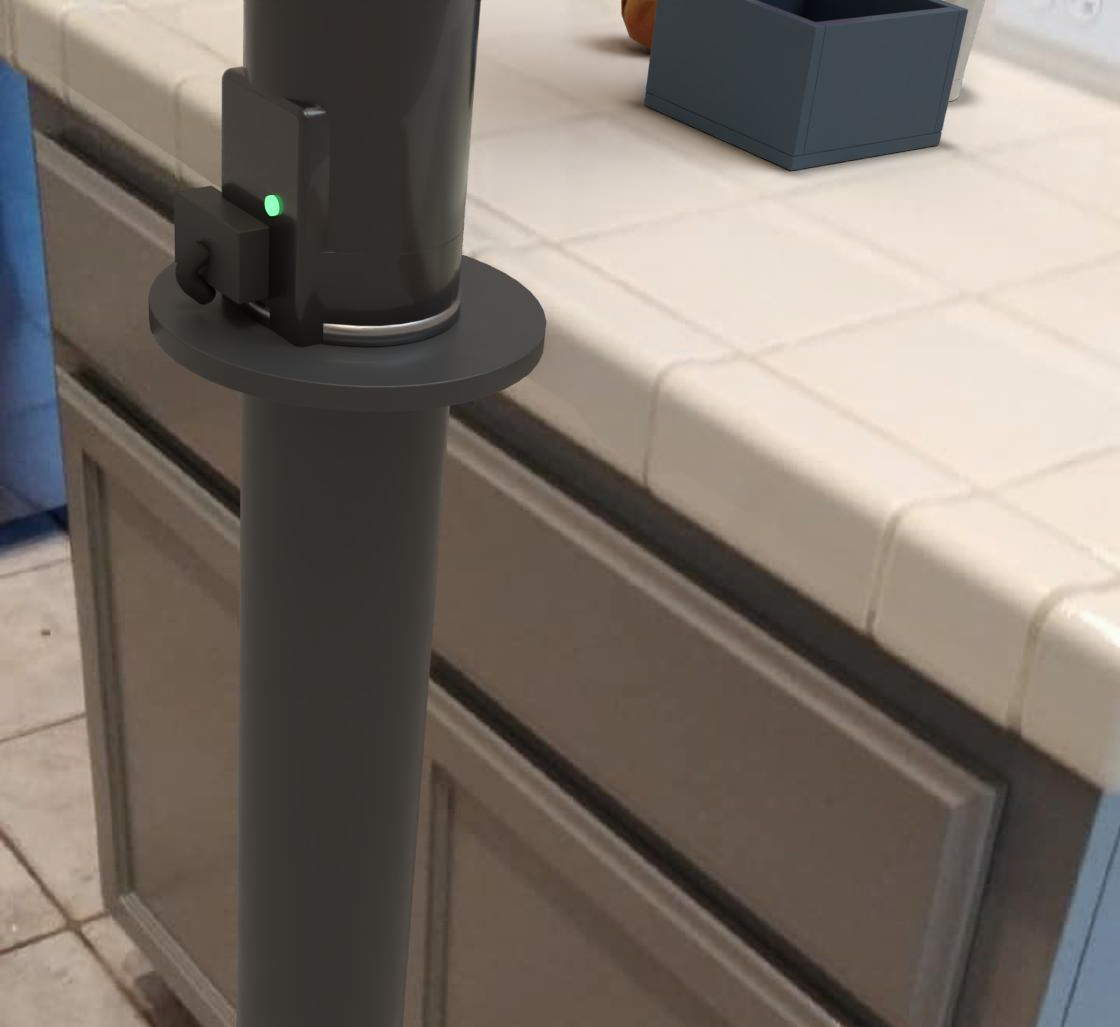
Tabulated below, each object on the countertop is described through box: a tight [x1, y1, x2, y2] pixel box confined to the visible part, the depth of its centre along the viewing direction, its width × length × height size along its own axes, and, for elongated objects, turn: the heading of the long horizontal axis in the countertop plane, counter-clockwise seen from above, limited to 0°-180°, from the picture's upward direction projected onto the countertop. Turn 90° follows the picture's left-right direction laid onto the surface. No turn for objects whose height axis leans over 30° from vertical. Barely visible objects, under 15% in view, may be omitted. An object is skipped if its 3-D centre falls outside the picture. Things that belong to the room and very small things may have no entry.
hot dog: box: [620, 0, 657, 50], centre depth 123 cm, size 5×13×5 cm, turn 98°
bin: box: [643, 0, 968, 172], centre depth 111 cm, size 13×13×8 cm
